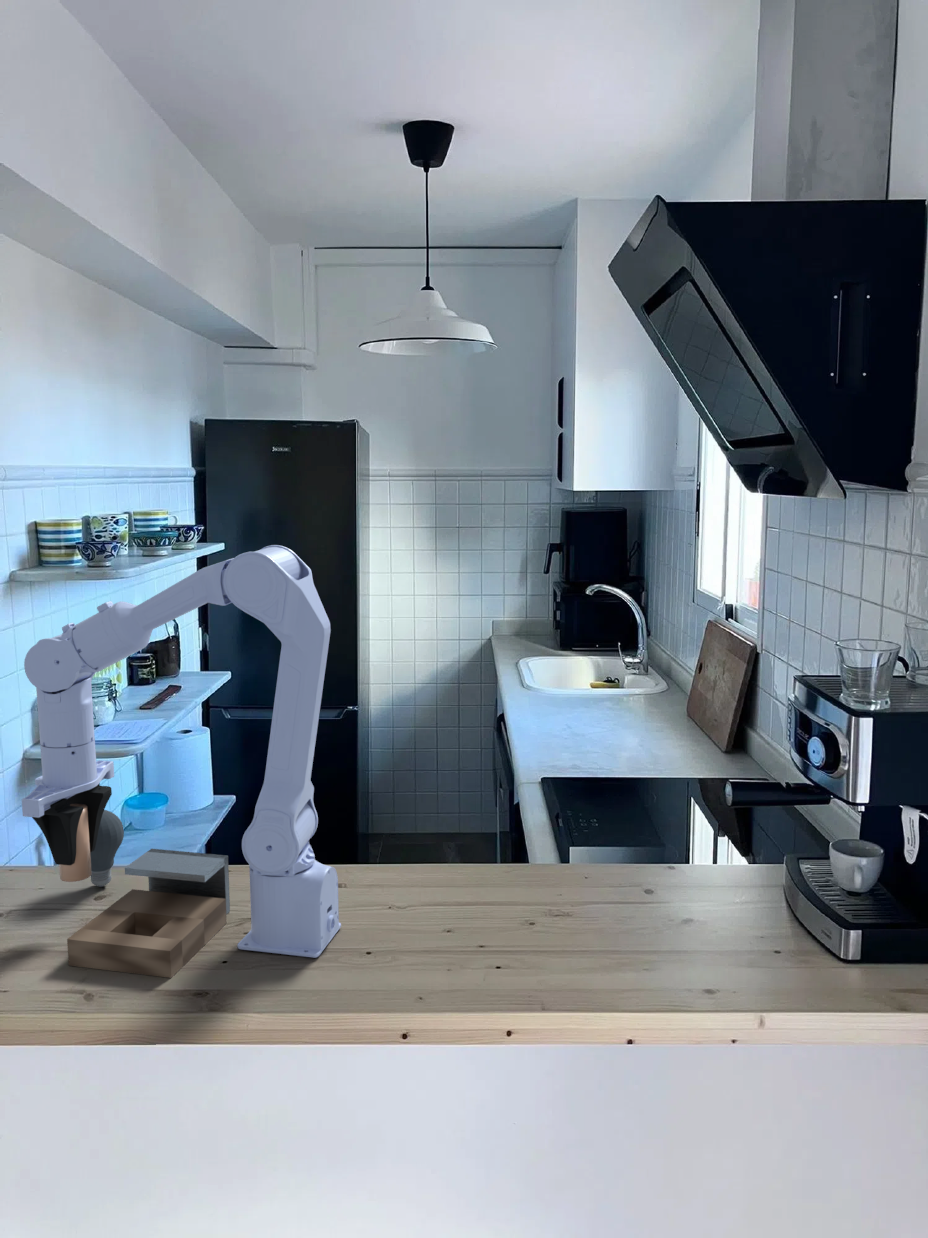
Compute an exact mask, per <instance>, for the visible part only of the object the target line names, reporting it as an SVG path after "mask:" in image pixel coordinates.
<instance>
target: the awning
mask: <svg viewBox="0 0 928 1238" xmlns="http://www.w3.org/2000/svg"><path fill="white" fill-rule="evenodd" d="M229 873H230V872H229V855H225V854H215V853H205V852H204V853H203V852H195V851H194V852H192V851H184V850H183V851H182V850H172V849H171V850H170V849H163V848H162V849H161V848H150V849H149V850H147V851H146V852H144V853H143V854H142V855H140V856H139V857H138V858H137V859H135V860H134V861H132V862H131V863H130V864H128V865H127V866H125V867H124V875H129V876H136V877H137V876H138V877H147V879H148V891H155V892H164V893H174V894H184V895H194V896H203V897H213V898H223V899H226V916H227V915H228V914H229V913H230V912H231V902H230V874H229Z"/></svg>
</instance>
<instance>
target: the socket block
mask: <svg viewBox="0 0 928 1238" xmlns="http://www.w3.org/2000/svg"><path fill="white" fill-rule="evenodd" d="M227 923H228V922H227V915H226V899H223V898H213V897H203V896H194V895H184V894H174V893H164V892H155V891H149V890H144V889H143V890H141V889H136V888H135V889H134V888H132V889H131V890H130V891H128V892H127V893H125V894H124V895H123V896H121V897H120V898H119V899H118V900H116V901H115V902H114V903H113V904H111V905H109V907H107V908H106V909H104V910H103V911H102V912H100V913H99V914H98V915H96V916H95V917H93V919H91V920H90V921H89V922H88V923H86V924H85V925H84V926H82V927H81V928H79V929H78V930H77V931H76V932H74V933H72V935H70V936H69V937H67V939H66V942H67V959H68V966H70V967H78V968H86V969H87V968H88V969H94V970H104V971H110V972H111V971H112V972H118V973H119V972H120V973H126V974H128V973H129V974H135V975H142V976H143V975H144V976H145V975H146V976H153V977H161V978H169V979H172V978H173V977H174V976H175V975H176V974H177V973H178V972H179V971H180V970H181V969H183V967H184V966H186V964H187V963H188V962H189V961H190V960H191V959H192V958H193V957H194V956H195V955H196V954H197V953H198V952H199V951H200V950H201V949H202V948H203V947H204V946H205V945H206V944H207V943H208V942H209V941H210V940H211V939H213V937H214V936H215V935H217V933H219V931H220V930H221V929H222V928H223V927H225V925H226V924H227Z"/></svg>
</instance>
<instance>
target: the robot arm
mask: <svg viewBox="0 0 928 1238" xmlns="http://www.w3.org/2000/svg"><path fill="white" fill-rule="evenodd" d="M208 603H209V604H212V605H217V606H221V607H223V606H228V605H229V604H233V605H234V606H235V607H237V609H239V610H240V611H243V612H244V613H245V614H247V615H249V616H251V617H253V618H254V619H256V620H258V621H260V622H261V623H263V624H264V625H265V626H266V627H267V628H268V629H269V630H270V632H272V634H274V636H275V637H276V638H277V640H279V641H280V643H281V649H280V655H279V662H278V671H277V679H276V685H275V686H276V687H275V694H274V700H273V701H274V702H273V711H272V715H271V716H272V717H271V725H270V734H269V740H268V748H267V755H266V756H267V757H266V765H265V771H264V778H263V779H264V780H263V783H262V787H261V788H260V789H261V790H260V792H259V795H258V798H257V800H256V804H255V808H254V814H253V818H252V820H251V823H250V824H249V826H248V827H247V829H246V830H245V831H244V834H243V835H242V839H241V850H242V854H243V857H244V859H245V861H246V863H248V865H249V866H248V867H249V893H250V894H249V895H250V898H249V899H250V901H249V902H250V924H251V925H250V927H251V928H250V930H249V932H248V933H246V935H244V937H243V938H242V939H241V940H240V941H239V942H238V943H237V949H238V950H244V951H253V952H262V953H270V954H271V953H272V954H277V955H278V954H279V955H280V954H281V955H289V956H295V957H296V956H297V957H305V958H315V959H316V958H318V957H320V956H321V954H322V952H323V951H324V950H325V948H326V947H327V946H328V944H329V943H331V941H332V939H334V937H335V935H336V934H337V932H338V931H339V930H340V929H341V927H342V923H341V922H340V920H339V919H340V916H339V914H340V913H339V877H338V873H337V869H336V868H335V867H333V866H330V865H327V864H323V863H321V862H319V861H318V860H316V858H315V857H316V856H315V853H314V850H313V848H312V845H311V844H310V839H312V837H313V836H314V835H315V833H316V832H317V828H318V824H319V817H318V812H317V810H316V807H315V803H314V793H315V786H314V785H313V783H312V781H311V778H312V772H313V771H312V770H313V764H314V763H313V762H314V757H315V747H316V743H317V742H316V741H317V734H318V727H319V719H320V712H321V711H320V710H321V705H322V699H323V691H324V690H323V689H324V681H325V674H326V668H327V660H328V653H329V646H330V645H329V644H330V637H331V633H332V632H331V631H332V629H331V621H330V619H329V617H328V614H327V613H326V610H325V608H324V605H323V603H322V601H321V598H320V596H319V593H318V590H317V588H316V586H315V583H314V579H313V573H312V569H311V568H310V567H309V566H308V565H307V564H306V562H304V561H303V559H301V558H300V556H298V554H296V552H294V551H293V550H292V549H290V548H288V547H286V546H283V545H279V544H271V545H267V546H264V547H262V548H261V549H259V550H255V551H247V552H243V553H240V554H238V555H237V556H235V557H232V558H229V559H226V560H223V561H220V562H217V563H214V564H211V565H208V566H205V567H202V568H201V569H198V570H196V571H195V572H193V573H192V574H190V575H189V576H186V577H185V578H183V579H181V580H180V581H177V582H176V583H174V584H173V585H171V586H169V587H167V588H166V589H165V588H164V590H162V591H161V592H159V593H157V594H155V595H153V596H151V597H149V598H148V599H147V600H145V601H143V602H141V603H140V604H138V605H137V604H133V603H130V602H128V601H127V602H126V601H117V602H116V603H114V602H113V601H112V600H110V601H106V602H104V603H102V604H99V605H98V606H97V607H96V610H97V611H98V612H97V613H95V614H93V615H92V616H91V615H90V616H89V617H88V618H86V619H83V620H82V621H80V622H78V623H77V624H75V623H74V622H70V623H67V624H65V625H63V626H62V627H61V630H62V633H61V634H59V635H56V636H53V637H48V638H41V639H39V640H38V641H37V642H36V644H34V645H33V646H31V648H30V649H29V650H28V651H27V653H26V654H25V658H24V661H23V663H24V664H23V665H24V673H25V675H26V678H27V679H28V681H29V682H30V683H31V684H32V685H33V686H34V687H35V689H36V691H35V692H36V702H37V703H36V704H37V717H38V718H37V719H38V731H39V732H38V733H39V744H40V745H39V746H40V758H41V759H40V761H41V762H40V763H41V774H42V775H40V776H38V777H36V778H35V779H34V782H35V784H34V785H35V787H34V789H33V790H32V791H31V792H30V793H29V794H28V795H27V796H25V797H23V798H22V799H21V809H22V817H24V818H25V817H26V818H27V817H28V818H32V820H34V822H35V823H36V824H37V826H38V827H39V829H40V830H41V832H42V834H43V835H44V838H45V839H46V842H47V845H48V847H49V850H50V852H51V855H52V859H53V861H54V864H55V865H59V864H60V865H72V864H74V863H75V858H76V837H77V828H78V824H79V820H80V816H81V814H82V811H83V809H84V808H83V807H77V806H70V804H84V805H86V806H87V810H88V825H89V841H90V852H92V851H94V850H95V846H96V841H97V836H98V831H99V826H100V822H101V818H102V815H103V812H104V810H106V809H105V808H106V806H107V804H108V802H109V800H110V799H111V797H112V794H113V791H112V787H111V786H109V785H108V786H107V785H101V784H100V783H101V782H102V781H103V780H111V779H112V778H114V777H115V766H114V765H115V764H114V761H112V760H97V751H96V739H95V724H94V723H95V722H94V707H93V704H94V703H93V692H92V691H93V690H92V688H93V687H92V681H93V680H92V679H93V677H94V675H95V674H97V673H99V672H101V671H103V670H105V669H107V668H109V667H110V666H112V665H114V664H116V663H118V662H120V661H122V660H125V659H126V658H128V657H130V656H132V655H133V654H135V653H137V652H139V651H141V650H143V649H145V648H146V647H147V646H148V645H149V642H150V640H151V637H152V632H153V630H154V629H157V628H159V627H161V626H163V625H165V624H167V623H169V622H171V621H173V620H176V619H177V618H179V617H182V616H184V615H186V614H188V613H190V612H192V611H194V610H195V609H198V608H200V607H202V606H204V605H206V604H208Z"/></svg>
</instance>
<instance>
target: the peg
mask: <svg viewBox="0 0 928 1238" xmlns="http://www.w3.org/2000/svg"><path fill="white" fill-rule="evenodd" d="M70 806H77V807H83V808H84V809H83V811H82V814H81V816H80V820H79V824H78V828H77V837H76V858H75V863H74V864H72V865H60V864H58V869H59V872H58V873H59V880H61V881H62V882H65V883H67V882H68V883H75V882H80V881H84V880H87V879H88V878H91V875H92V871H91V856H90V841H89V825H88V810H87V806H86V805H84V804H70Z"/></svg>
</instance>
